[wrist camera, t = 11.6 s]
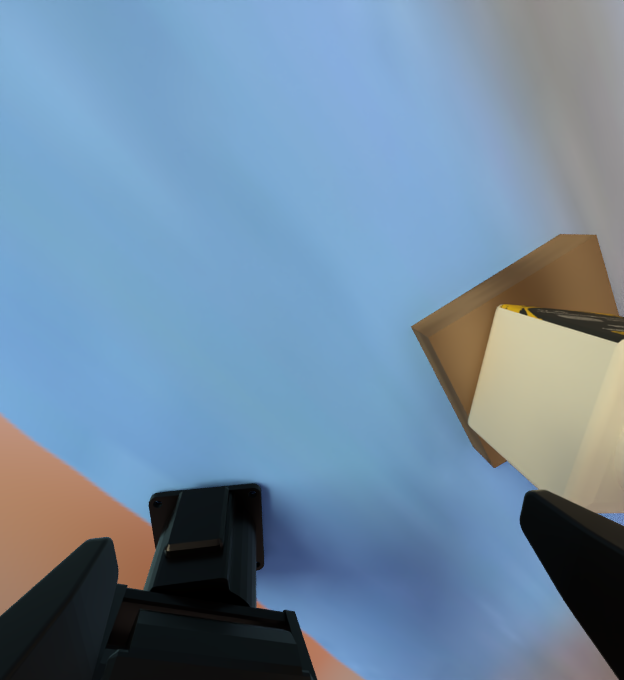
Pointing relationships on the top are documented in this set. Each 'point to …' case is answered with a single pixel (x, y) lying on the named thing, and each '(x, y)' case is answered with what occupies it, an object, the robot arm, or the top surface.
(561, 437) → the medicine bottle
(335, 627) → the top surface
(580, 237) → the walnut block
